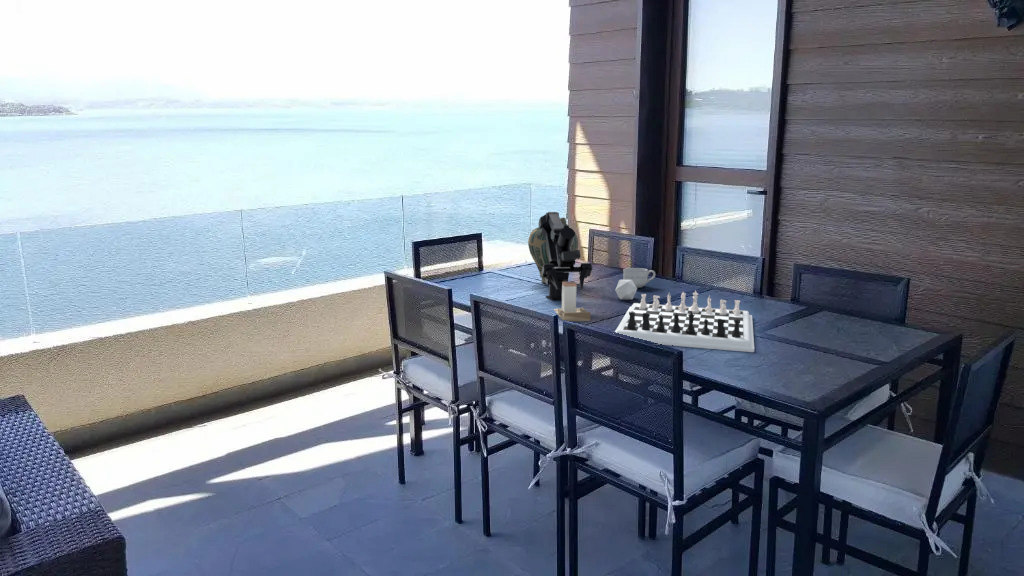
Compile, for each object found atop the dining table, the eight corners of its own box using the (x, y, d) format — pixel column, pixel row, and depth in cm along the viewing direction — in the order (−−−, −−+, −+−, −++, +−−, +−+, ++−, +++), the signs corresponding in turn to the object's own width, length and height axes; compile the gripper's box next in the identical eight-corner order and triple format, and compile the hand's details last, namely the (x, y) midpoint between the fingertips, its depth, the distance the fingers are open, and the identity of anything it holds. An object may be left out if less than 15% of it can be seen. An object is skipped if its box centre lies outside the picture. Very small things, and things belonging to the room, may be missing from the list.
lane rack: (553, 310, 289) (553, 301, 288) (578, 309, 290) (579, 300, 290) (563, 322, 271) (564, 313, 270) (591, 321, 272) (591, 312, 271)
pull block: (561, 309, 287) (562, 281, 285) (573, 309, 288) (573, 281, 286) (564, 312, 283) (564, 284, 281) (575, 312, 284) (576, 283, 281)
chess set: (751, 319, 279) (753, 290, 276) (753, 354, 236) (756, 320, 234) (629, 310, 291) (630, 283, 289) (611, 342, 249) (612, 310, 247)
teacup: (620, 288, 329) (621, 270, 327) (624, 283, 339) (625, 266, 337) (652, 290, 324) (653, 272, 323) (656, 285, 334) (656, 267, 333)
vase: (563, 289, 325) (565, 220, 319) (519, 284, 336) (519, 217, 330) (585, 280, 344) (587, 215, 338) (542, 275, 355) (543, 212, 349)
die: (630, 303, 303) (642, 283, 304) (612, 292, 304) (624, 272, 305) (627, 306, 311) (639, 286, 313) (609, 295, 312) (621, 275, 313)
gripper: (543, 242, 282) (548, 277, 274) (591, 241, 285) (598, 276, 277) (539, 259, 292) (544, 293, 283) (586, 258, 294) (592, 292, 286)
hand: (570, 288), depth 282 cm, fingers open, 9 cm apart
